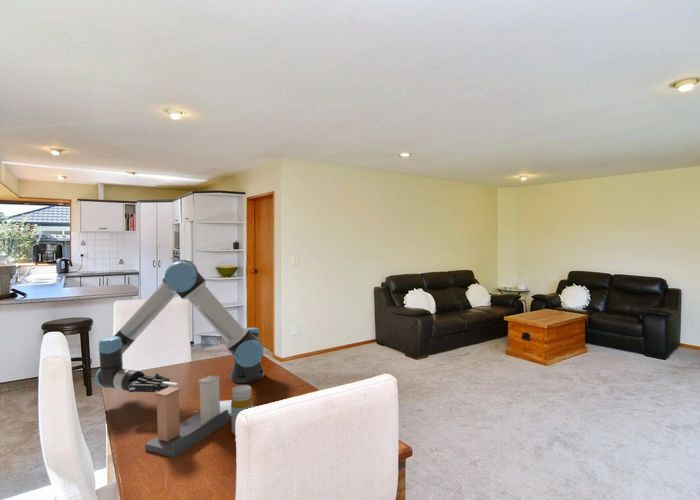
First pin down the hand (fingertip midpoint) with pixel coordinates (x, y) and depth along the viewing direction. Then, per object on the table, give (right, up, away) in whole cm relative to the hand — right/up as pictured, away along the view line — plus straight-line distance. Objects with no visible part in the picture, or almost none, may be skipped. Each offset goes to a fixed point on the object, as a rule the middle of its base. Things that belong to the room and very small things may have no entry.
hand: (177, 387), depth 141 cm
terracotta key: (+5, -10, -16) cm, 20 cm away
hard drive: (+14, -12, +8) cm, 20 cm away
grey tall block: (+14, -9, -6) cm, 18 cm away
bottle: (+26, -12, -10) cm, 30 cm away
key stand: (+9, -12, -11) cm, 19 cm away
